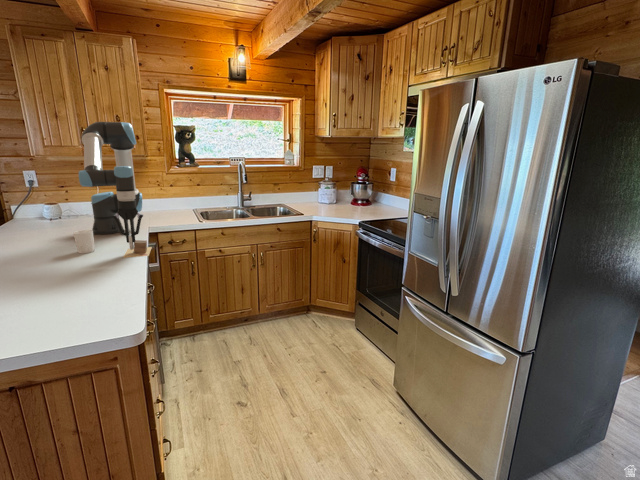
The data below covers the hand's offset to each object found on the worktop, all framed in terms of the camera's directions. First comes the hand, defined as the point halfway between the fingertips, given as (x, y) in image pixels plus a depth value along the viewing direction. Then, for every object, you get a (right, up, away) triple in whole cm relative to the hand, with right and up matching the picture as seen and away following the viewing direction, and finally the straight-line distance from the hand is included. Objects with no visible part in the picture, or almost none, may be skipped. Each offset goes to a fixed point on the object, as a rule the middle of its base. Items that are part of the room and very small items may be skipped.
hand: (131, 248), depth 174 cm
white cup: (-24, -2, +3) cm, 24 cm away
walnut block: (+3, -1, +2) cm, 4 cm away
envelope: (+2, -2, +2) cm, 3 cm away
